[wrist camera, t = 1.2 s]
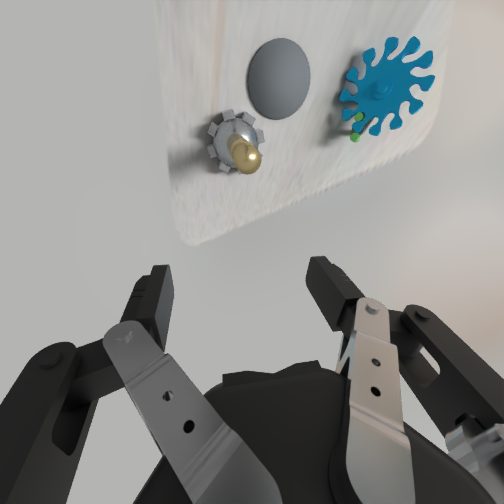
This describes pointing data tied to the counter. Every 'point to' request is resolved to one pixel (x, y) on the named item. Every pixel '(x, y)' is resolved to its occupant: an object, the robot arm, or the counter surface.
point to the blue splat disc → (385, 87)
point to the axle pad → (279, 78)
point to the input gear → (236, 143)
